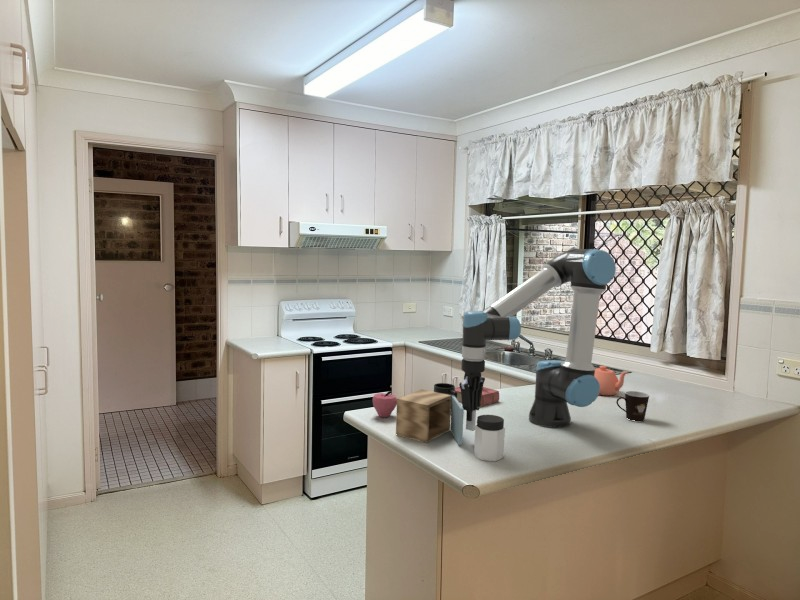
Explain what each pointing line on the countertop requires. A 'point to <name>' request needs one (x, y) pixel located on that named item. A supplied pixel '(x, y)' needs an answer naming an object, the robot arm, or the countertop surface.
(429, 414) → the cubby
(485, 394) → the book
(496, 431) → the jar
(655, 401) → the countertop surface
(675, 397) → the countertop surface
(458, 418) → the door
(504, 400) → the countertop surface
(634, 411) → the coffee mug
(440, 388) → the mug
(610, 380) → the teapot
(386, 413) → the apple
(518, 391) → the countertop surface
